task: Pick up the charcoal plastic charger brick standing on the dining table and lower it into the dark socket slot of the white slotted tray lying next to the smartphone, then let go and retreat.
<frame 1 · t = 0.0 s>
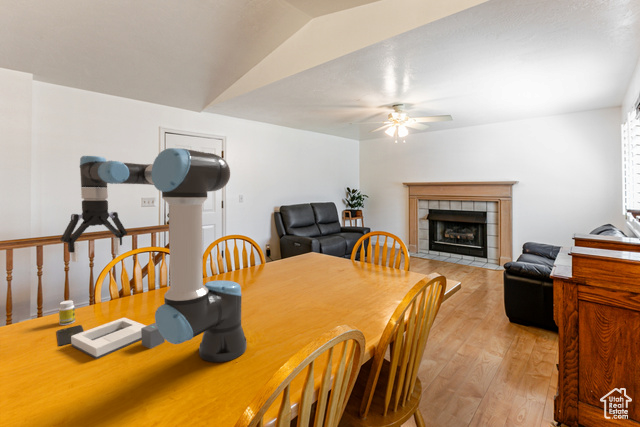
hand: (97, 257, 108), 28 cm above the table, fingers open, 13 cm apart
white slotted tray: (112, 340, 104), on the table
charger brick: (153, 343, 102), on the table
smartphone: (71, 336, 107), on the table
supplement bottle: (67, 323, 117), on the table
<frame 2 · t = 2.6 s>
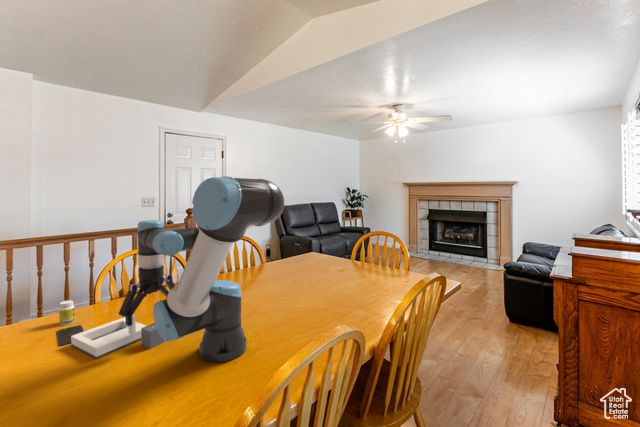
hand: (152, 325, 102), 6 cm above the table, fingers open, 13 cm apart
nothing on the table moved.
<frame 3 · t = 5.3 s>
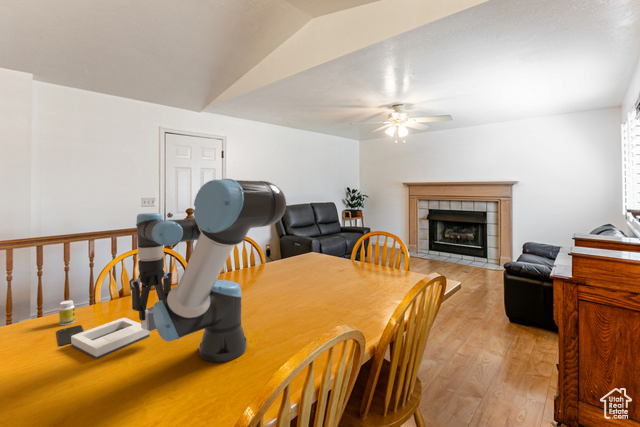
hand: (153, 325, 101), 7 cm above the table, fingers closed on charger brick, 5 cm apart
charger brick: (153, 326, 102), point 6 cm above the table, touching gripper
everything else where it was.
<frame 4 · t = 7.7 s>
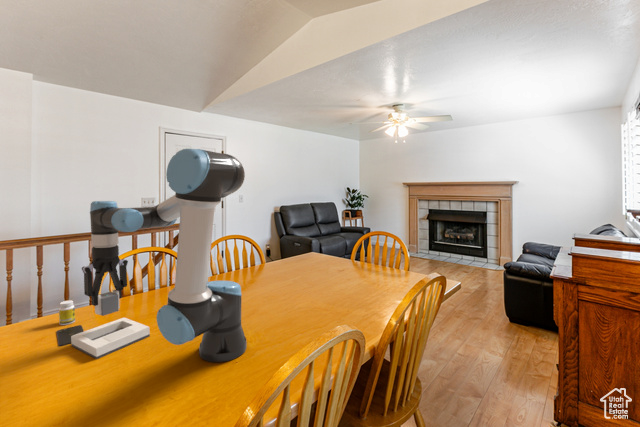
hand: (107, 310, 104), 10 cm above the table, fingers closed on charger brick, 5 cm apart
charger brick: (106, 311, 104), point 10 cm above the table, touching gripper
everything else where it was.
when the fingers open (2 cm above the table, at t = 10.0 s): charger brick stays where it is, resting on white slotted tray.
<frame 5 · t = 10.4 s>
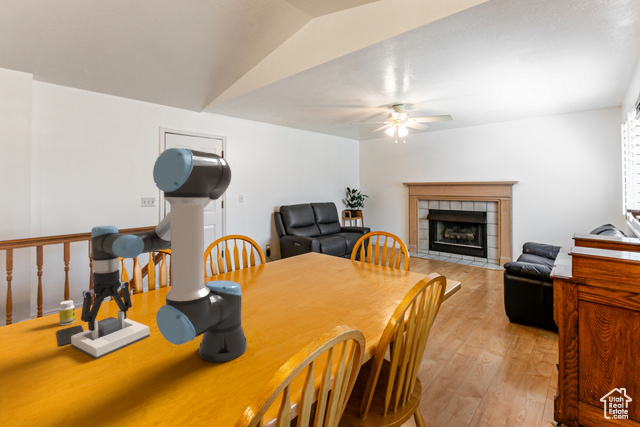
hand: (108, 333, 104), 2 cm above the table, fingers open, 8 cm apart
charger brick: (108, 337, 105), point 1 cm above the table, touching white slotted tray
everything else where it was.
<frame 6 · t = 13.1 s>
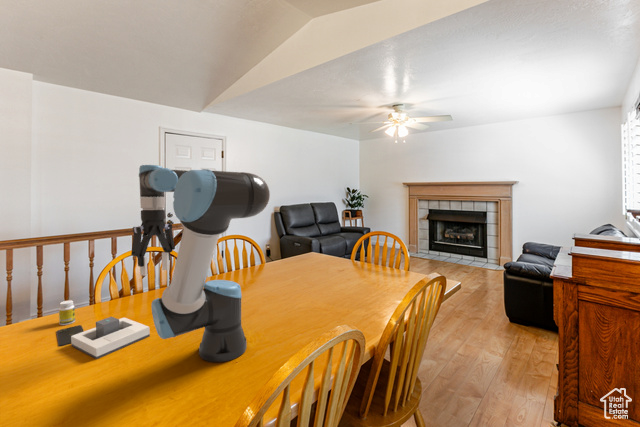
hand: (155, 272, 106), 24 cm above the table, fingers open, 8 cm apart
nothing on the table moved.
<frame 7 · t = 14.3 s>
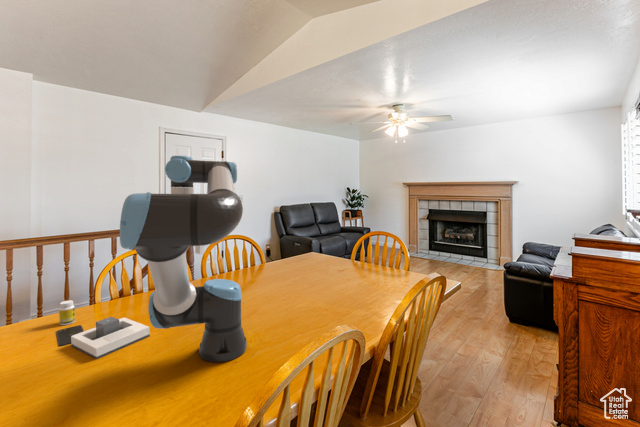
hand: (183, 256, 109), 29 cm above the table, fingers open, 13 cm apart
nothing on the table moved.
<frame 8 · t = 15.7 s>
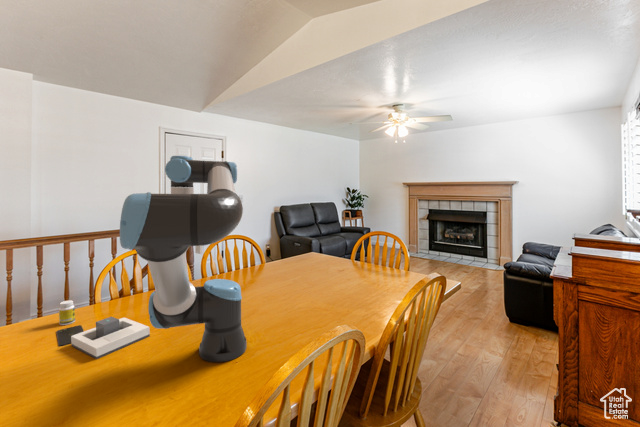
hand: (183, 256, 109), 29 cm above the table, fingers open, 13 cm apart
nothing on the table moved.
at the end: charger brick inside the target area on the white slotted tray (0.3 cm from its centre), point 0.8 cm above the white slotted tray's base; charger brick tilted 0°; the gripper is holding nothing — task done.
